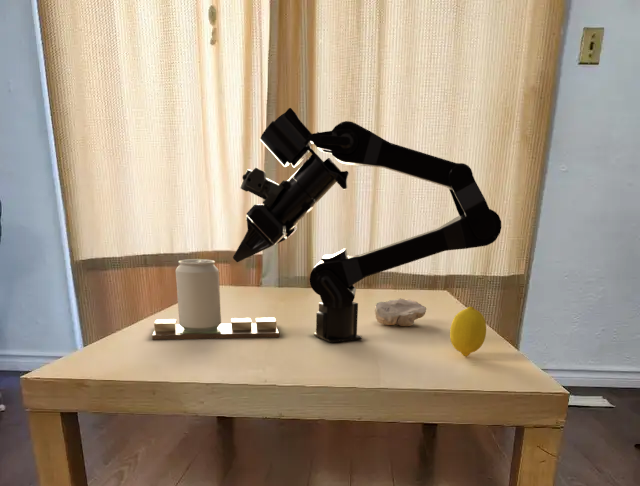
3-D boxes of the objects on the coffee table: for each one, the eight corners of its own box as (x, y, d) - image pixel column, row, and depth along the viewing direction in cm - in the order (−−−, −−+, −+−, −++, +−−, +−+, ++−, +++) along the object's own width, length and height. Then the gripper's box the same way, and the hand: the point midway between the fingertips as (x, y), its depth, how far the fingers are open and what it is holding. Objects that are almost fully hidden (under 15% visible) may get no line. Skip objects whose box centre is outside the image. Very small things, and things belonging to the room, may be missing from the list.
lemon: (490, 358, 91) (496, 308, 89) (464, 362, 89) (470, 310, 86) (466, 350, 96) (471, 302, 93) (440, 354, 93) (445, 304, 90)
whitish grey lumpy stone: (434, 312, 112) (392, 293, 108) (418, 342, 114) (376, 324, 110) (416, 300, 120) (376, 282, 116) (402, 329, 122) (362, 312, 118)
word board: (274, 326, 111) (274, 314, 110) (279, 337, 103) (278, 324, 102) (157, 328, 108) (156, 316, 107) (152, 339, 100) (151, 326, 99)
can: (172, 327, 105) (166, 259, 101) (208, 322, 110) (204, 257, 105) (192, 334, 100) (187, 263, 95) (229, 329, 104) (226, 260, 100)
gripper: (278, 154, 101) (220, 220, 106) (259, 145, 84) (190, 224, 89) (322, 203, 104) (263, 265, 109) (312, 204, 86) (242, 277, 91)
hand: (240, 257), depth 99 cm, fingers open, 9 cm apart
